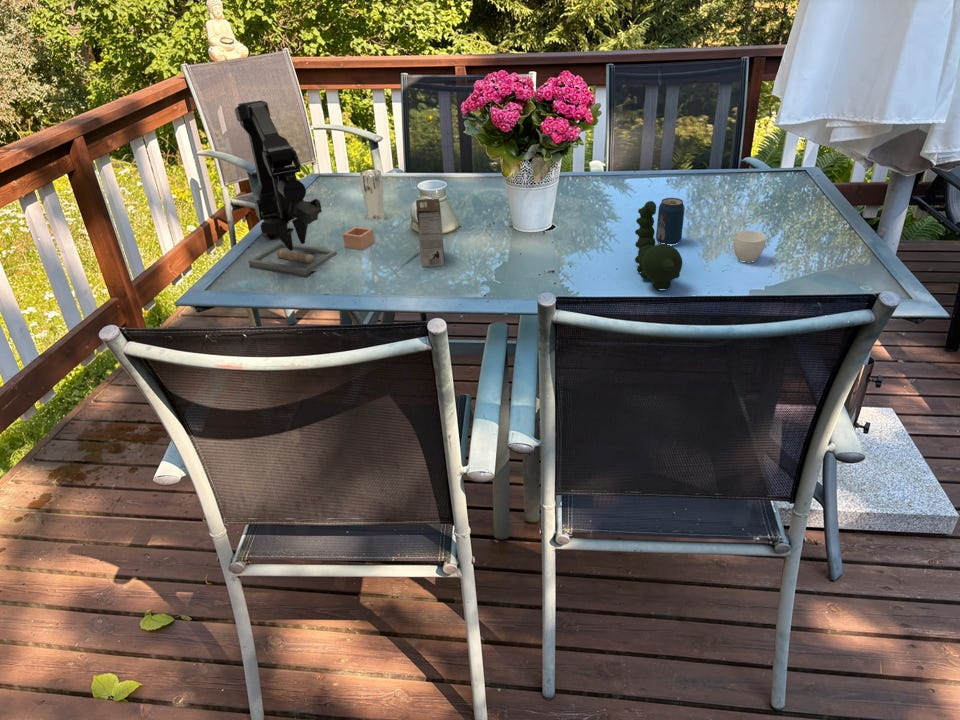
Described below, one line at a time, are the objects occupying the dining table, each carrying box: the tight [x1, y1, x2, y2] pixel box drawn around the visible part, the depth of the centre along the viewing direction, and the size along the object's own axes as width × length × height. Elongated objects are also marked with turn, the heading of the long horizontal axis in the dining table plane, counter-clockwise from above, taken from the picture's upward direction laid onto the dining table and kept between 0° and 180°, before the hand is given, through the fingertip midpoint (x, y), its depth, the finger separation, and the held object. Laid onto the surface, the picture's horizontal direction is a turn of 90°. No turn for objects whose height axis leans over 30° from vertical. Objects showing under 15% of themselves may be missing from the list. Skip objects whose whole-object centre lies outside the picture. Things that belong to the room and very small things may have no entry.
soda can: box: [655, 197, 686, 244], centre depth 195 cm, size 7×7×12 cm
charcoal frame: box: [247, 241, 338, 278], centre depth 198 cm, size 20×14×2 cm
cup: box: [733, 230, 767, 262], centre depth 185 cm, size 8×10×7 cm
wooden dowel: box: [276, 249, 315, 264], centre depth 197 cm, size 6×2×11 cm
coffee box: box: [415, 198, 445, 268], centre depth 191 cm, size 9×6×16 cm
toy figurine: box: [634, 200, 683, 290], centre depth 174 cm, size 9×19×25 cm
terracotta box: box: [342, 226, 375, 251], centre depth 204 cm, size 6×6×5 cm
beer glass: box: [359, 169, 387, 221], centre depth 222 cm, size 7×7×15 cm
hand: (297, 247), depth 195 cm, fingers open, 5 cm apart
